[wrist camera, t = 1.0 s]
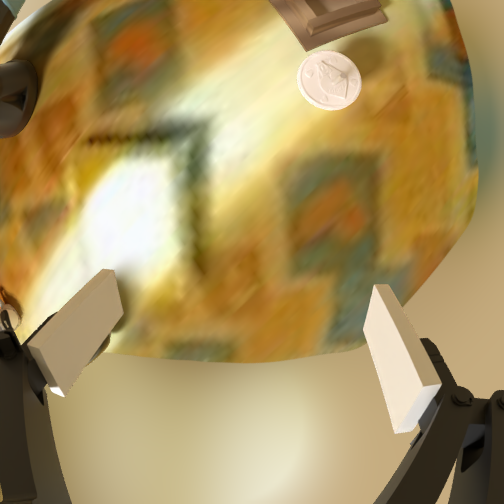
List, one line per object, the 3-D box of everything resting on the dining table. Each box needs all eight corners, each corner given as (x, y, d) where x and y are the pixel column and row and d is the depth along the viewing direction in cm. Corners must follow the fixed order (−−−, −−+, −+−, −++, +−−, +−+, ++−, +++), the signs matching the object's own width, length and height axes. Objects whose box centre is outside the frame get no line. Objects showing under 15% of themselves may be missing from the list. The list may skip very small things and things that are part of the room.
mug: (24, 323, 55) (9, 338, 49) (14, 327, 57) (0, 341, 51) (4, 289, 52) (-13, 303, 46) (-5, 295, 53) (-20, 307, 47)
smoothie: (312, 124, 35) (330, 119, 22) (282, 84, 33) (284, 58, 20) (351, 99, 33) (389, 85, 20) (323, 60, 31) (345, 25, 18)
